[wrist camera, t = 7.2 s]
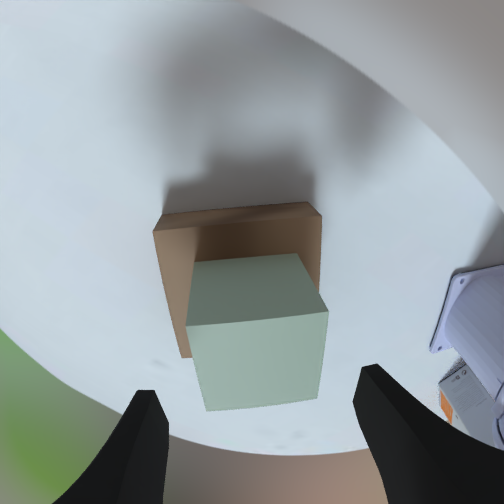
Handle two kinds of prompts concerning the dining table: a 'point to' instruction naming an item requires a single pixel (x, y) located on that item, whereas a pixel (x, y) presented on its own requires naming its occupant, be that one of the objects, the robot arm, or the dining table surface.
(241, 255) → the walnut block
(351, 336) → the dining table surface
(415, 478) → the robot arm
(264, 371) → the sage cube
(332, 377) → the dining table surface
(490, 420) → the skincare box
